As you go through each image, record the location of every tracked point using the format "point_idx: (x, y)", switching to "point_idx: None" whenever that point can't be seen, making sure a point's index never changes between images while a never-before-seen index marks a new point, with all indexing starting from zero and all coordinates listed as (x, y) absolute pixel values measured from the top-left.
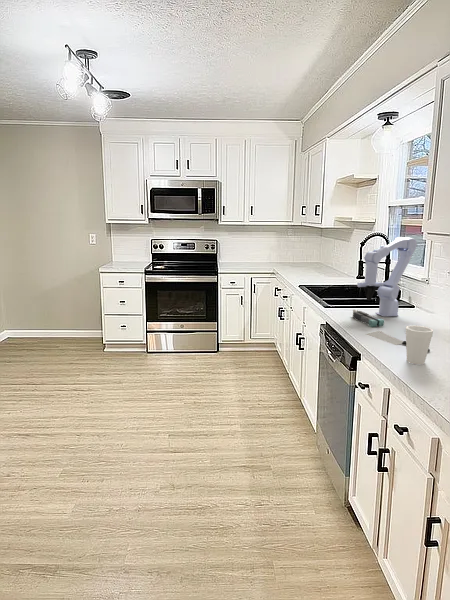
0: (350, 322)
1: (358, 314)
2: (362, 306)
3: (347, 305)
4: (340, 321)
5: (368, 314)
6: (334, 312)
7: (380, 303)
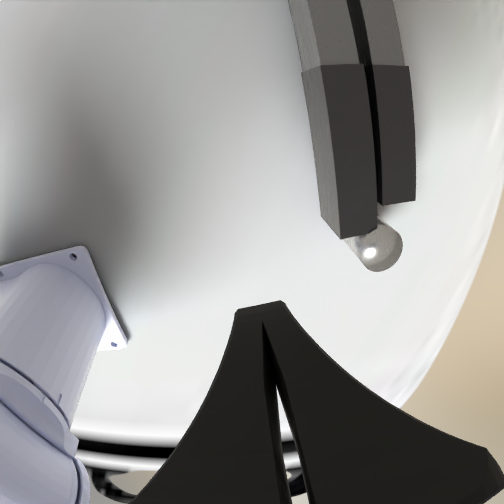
0: (457, 55)
1: (411, 110)
2: None
3: None
4: (498, 99)
5: (323, 65)
6: (411, 342)
7: (75, 374)
